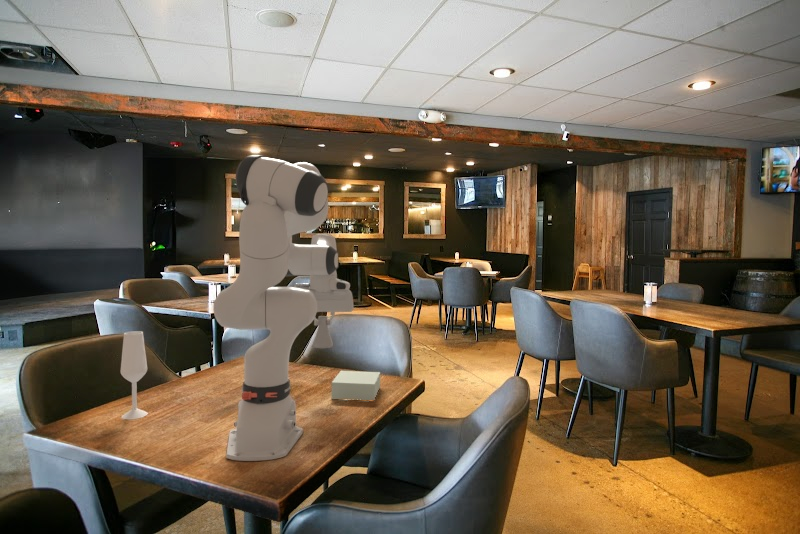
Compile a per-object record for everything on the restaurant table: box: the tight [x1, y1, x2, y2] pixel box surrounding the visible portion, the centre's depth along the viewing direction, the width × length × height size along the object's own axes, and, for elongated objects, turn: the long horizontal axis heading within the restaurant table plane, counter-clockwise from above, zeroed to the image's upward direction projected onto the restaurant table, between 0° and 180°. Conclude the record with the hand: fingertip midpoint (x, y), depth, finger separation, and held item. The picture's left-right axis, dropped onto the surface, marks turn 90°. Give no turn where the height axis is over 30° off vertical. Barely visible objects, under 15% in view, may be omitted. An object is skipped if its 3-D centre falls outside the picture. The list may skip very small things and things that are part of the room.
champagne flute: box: [120, 330, 149, 420], centre depth 134 cm, size 7×7×24 cm
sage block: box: [330, 370, 381, 400], centre depth 157 cm, size 14×14×6 cm
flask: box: [311, 315, 334, 349], centre depth 155 cm, size 7×7×10 cm
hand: (322, 325), depth 155 cm, fingers closed on flask, 3 cm apart
